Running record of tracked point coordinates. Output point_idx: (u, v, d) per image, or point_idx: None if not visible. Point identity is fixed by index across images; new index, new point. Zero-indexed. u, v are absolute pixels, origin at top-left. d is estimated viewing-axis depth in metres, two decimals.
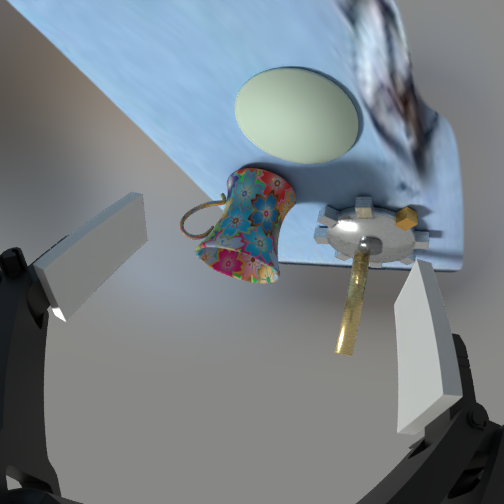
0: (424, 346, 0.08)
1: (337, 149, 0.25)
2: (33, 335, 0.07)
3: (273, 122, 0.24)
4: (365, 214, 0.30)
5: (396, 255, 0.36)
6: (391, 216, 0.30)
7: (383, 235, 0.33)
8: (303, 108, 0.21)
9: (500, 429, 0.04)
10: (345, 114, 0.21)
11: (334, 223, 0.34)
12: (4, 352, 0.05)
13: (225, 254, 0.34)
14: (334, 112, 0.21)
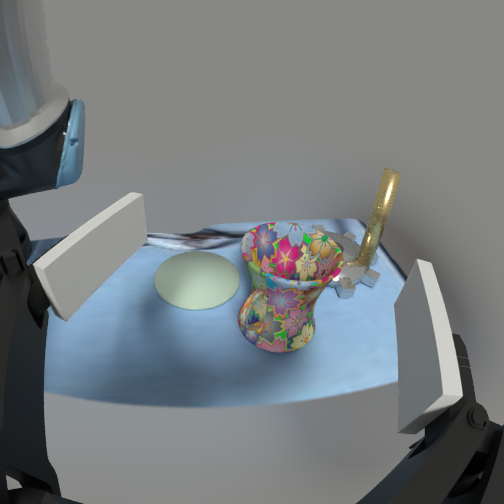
0: (424, 346, 0.08)
1: (225, 263, 0.39)
2: (33, 335, 0.07)
3: (193, 286, 0.35)
4: None
5: (343, 240, 0.44)
6: None
7: None
8: (187, 269, 0.37)
9: (500, 429, 0.04)
10: (197, 254, 0.40)
11: None
12: (4, 352, 0.05)
13: None
14: (194, 258, 0.39)
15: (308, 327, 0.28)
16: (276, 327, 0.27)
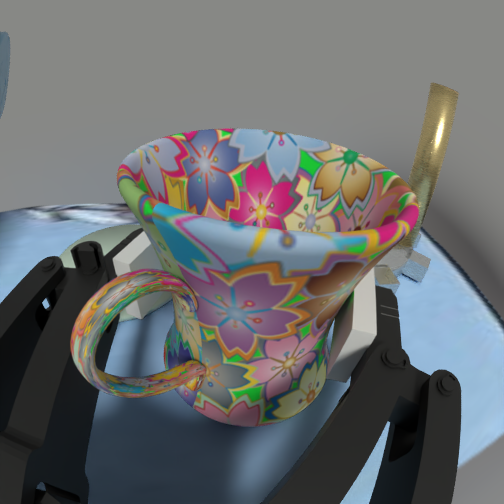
0: None
1: None
2: None
3: None
4: None
5: None
6: None
7: None
8: (105, 251, 0.20)
9: (426, 382, 0.06)
10: (129, 229, 0.23)
11: None
12: (61, 360, 0.06)
13: None
14: (123, 235, 0.22)
15: (316, 370, 0.11)
16: (232, 378, 0.10)
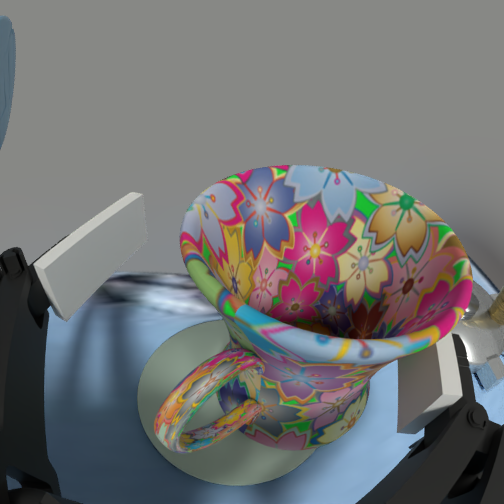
0: None
1: None
2: (33, 335, 0.07)
3: None
4: None
5: None
6: None
7: None
8: None
9: (500, 429, 0.04)
10: None
11: None
12: (4, 352, 0.05)
13: None
14: (224, 340, 0.18)
15: (359, 401, 0.11)
16: (286, 415, 0.10)
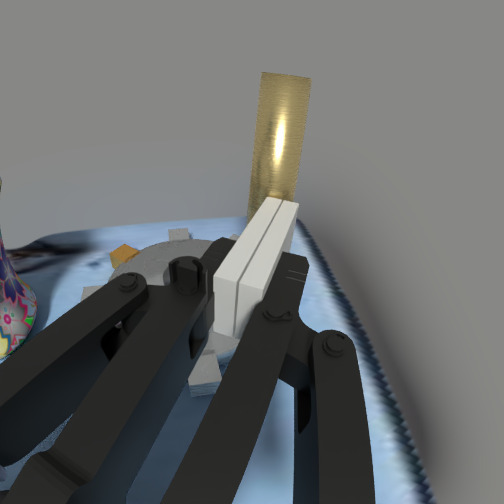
0: None
1: None
2: (181, 369, 0.08)
3: None
4: None
5: None
6: None
7: (156, 272, 0.21)
8: None
9: (311, 346, 0.07)
10: None
11: None
12: (134, 393, 0.05)
13: None
14: None
15: None
16: None
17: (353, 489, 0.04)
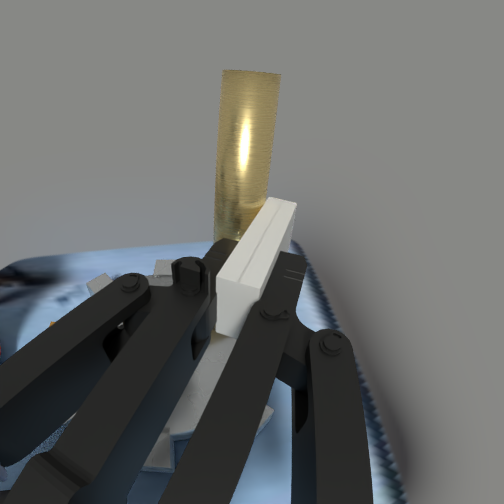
0: None
1: None
2: (183, 370, 0.08)
3: None
4: None
5: None
6: None
7: None
8: None
9: (308, 345, 0.07)
10: None
11: None
12: (136, 394, 0.05)
13: None
14: None
15: None
16: None
17: (351, 488, 0.04)
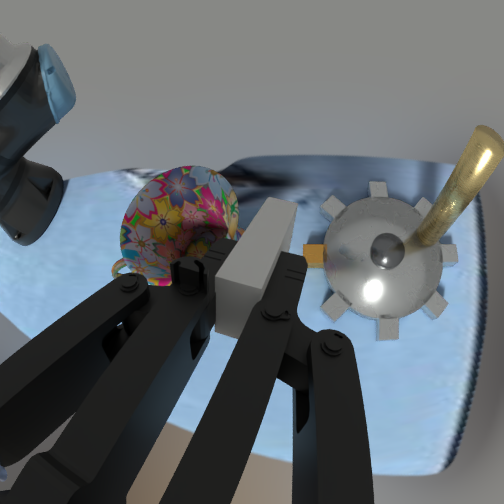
0: None
1: None
2: (182, 369, 0.08)
3: None
4: (336, 303, 0.24)
5: (380, 208, 0.26)
6: (324, 272, 0.26)
7: (357, 255, 0.25)
8: None
9: (309, 346, 0.07)
10: None
11: (386, 319, 0.22)
12: (135, 393, 0.05)
13: None
14: None
15: None
16: None
17: (352, 489, 0.04)
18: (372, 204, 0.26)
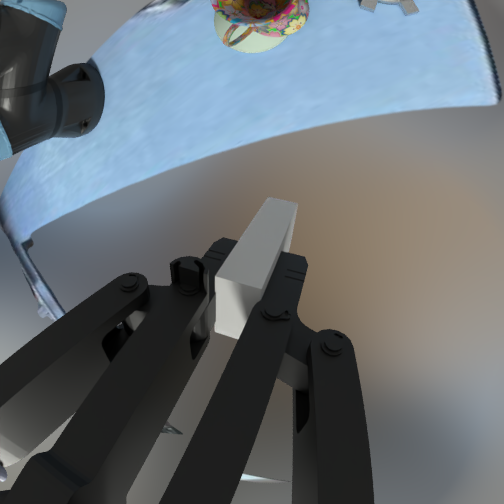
0: None
1: None
2: (182, 369, 0.08)
3: None
4: None
5: None
6: None
7: None
8: None
9: (309, 346, 0.07)
10: None
11: (404, 1, 0.20)
12: (136, 394, 0.05)
13: None
14: None
15: (296, 20, 0.25)
16: (265, 27, 0.26)
17: (352, 489, 0.04)
18: None
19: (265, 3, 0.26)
